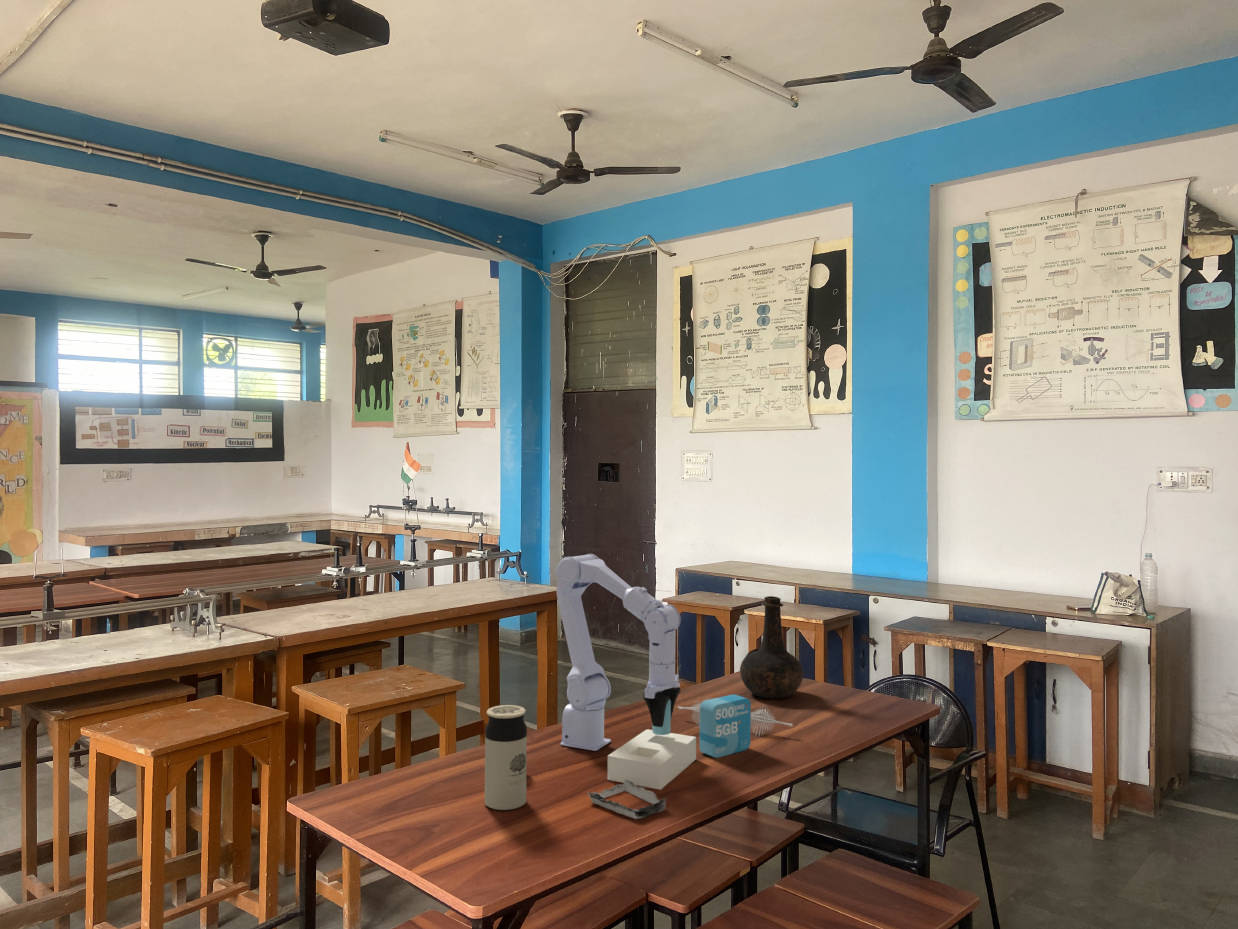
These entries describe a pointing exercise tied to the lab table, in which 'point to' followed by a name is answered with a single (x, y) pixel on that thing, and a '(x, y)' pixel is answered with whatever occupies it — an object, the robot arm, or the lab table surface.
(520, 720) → the travel mug
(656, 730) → the pin
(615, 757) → the hole board
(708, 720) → the data package
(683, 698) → the lab table surface
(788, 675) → the glass bottle
